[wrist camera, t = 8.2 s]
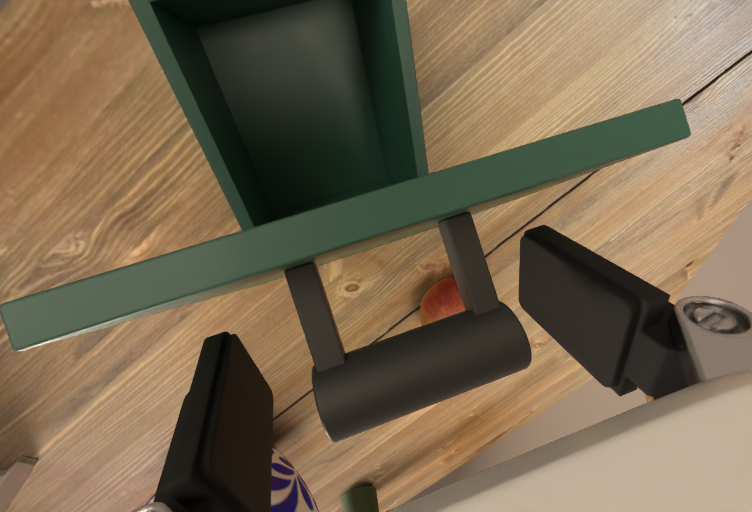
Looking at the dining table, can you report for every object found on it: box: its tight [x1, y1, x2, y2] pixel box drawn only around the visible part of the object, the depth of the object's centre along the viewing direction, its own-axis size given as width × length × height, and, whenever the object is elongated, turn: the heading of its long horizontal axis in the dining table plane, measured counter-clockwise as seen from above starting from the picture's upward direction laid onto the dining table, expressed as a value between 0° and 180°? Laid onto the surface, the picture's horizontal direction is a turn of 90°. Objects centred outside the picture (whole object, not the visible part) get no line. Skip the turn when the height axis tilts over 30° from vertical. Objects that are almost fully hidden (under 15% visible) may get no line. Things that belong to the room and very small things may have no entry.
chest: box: [129, 0, 429, 231], centre depth 23 cm, size 16×13×10 cm
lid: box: [0, 99, 691, 442], centre depth 14 cm, size 17×13×5 cm
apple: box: [420, 278, 465, 325], centre depth 37 cm, size 8×8×8 cm
